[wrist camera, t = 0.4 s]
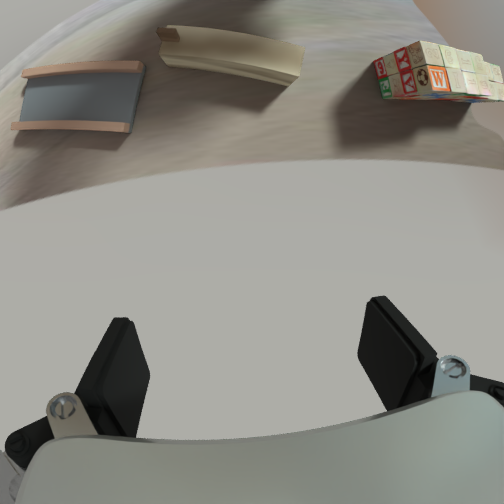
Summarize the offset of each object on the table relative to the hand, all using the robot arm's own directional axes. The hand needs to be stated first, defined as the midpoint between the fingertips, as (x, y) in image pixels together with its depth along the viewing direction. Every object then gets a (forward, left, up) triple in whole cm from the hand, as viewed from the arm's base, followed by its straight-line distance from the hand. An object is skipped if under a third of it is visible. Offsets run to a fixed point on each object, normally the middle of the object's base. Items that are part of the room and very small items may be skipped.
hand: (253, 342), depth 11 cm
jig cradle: (-12, -25, -29) cm, 40 cm away
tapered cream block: (-19, -4, -29) cm, 35 cm away
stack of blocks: (-27, +26, -29) cm, 47 cm away
